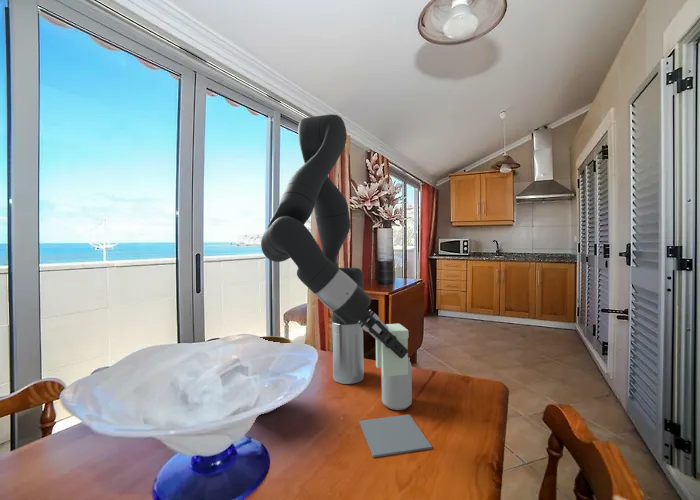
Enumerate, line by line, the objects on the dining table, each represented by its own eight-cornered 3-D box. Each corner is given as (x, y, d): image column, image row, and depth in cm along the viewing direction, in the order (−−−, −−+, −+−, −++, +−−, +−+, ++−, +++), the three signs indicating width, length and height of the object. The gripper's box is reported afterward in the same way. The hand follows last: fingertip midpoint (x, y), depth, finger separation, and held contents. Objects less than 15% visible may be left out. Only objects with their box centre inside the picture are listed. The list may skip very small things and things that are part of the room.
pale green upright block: (375, 366, 69) (374, 325, 69) (399, 363, 70) (399, 323, 70) (382, 376, 64) (381, 332, 63) (408, 374, 65) (408, 330, 64)
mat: (359, 422, 72) (359, 420, 72) (409, 416, 74) (409, 414, 74) (373, 457, 60) (372, 455, 60) (432, 448, 62) (432, 446, 62)
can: (411, 413, 75) (411, 363, 75) (380, 410, 77) (379, 361, 77) (412, 398, 83) (411, 352, 83) (383, 395, 84) (382, 350, 84)
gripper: (363, 287, 58) (425, 347, 60) (348, 278, 72) (399, 327, 75) (334, 317, 57) (399, 377, 60) (326, 303, 71) (378, 351, 74)
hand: (399, 349), depth 67 cm, fingers closed on pale green upright block, 5 cm apart
